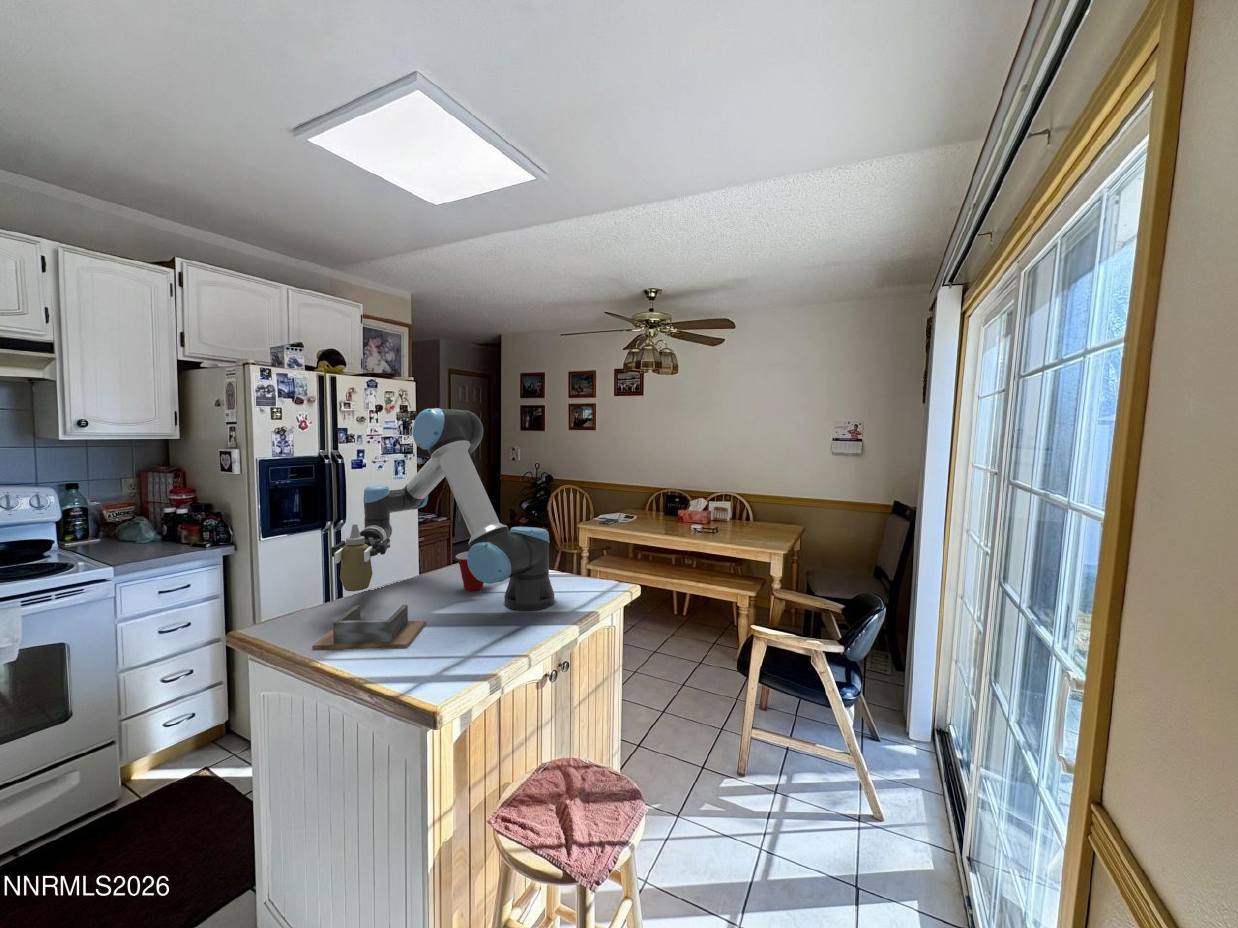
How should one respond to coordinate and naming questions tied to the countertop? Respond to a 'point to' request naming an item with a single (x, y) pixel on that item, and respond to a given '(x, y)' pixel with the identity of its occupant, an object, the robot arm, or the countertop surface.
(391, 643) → the u rest
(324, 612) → the countertop surface
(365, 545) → the squeeze bottle
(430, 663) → the countertop surface
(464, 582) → the plastic cup
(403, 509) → the robot arm
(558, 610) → the countertop surface
